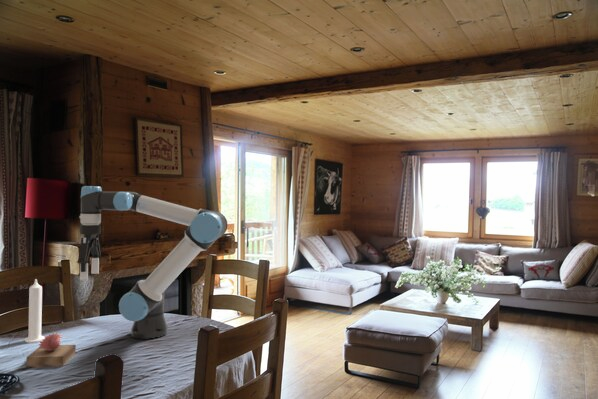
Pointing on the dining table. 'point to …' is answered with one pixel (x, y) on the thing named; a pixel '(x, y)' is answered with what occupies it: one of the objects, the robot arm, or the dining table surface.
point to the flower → (50, 342)
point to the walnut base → (51, 356)
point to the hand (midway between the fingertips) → (89, 276)
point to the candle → (35, 313)
